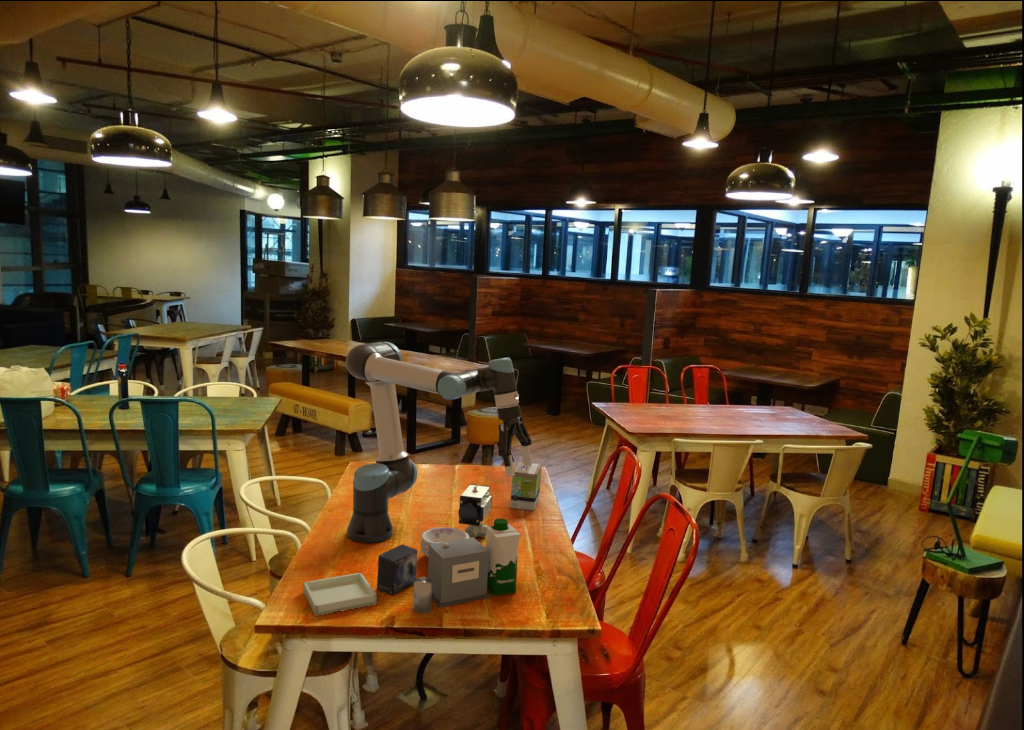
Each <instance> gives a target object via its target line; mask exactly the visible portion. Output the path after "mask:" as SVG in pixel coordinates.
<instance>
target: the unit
mask: <svg viewBox="0 0 1024 730" xmlns="http://www.w3.org/2000/svg"><path fill="white" fill-rule="evenodd" d="M488 557H489V550H487V549H486V547H485V546H484V545H483V544H482V543H481V542H479V540H477V539H476V538H474V537H473V538H467V539H461V540H455V541H448V542H442V543H436V544H429V558H428V557H427V559H428V565H427V577H428V578H431V579H432V580H433V585H432V601H433V602H434V603H435V604H436V606H437V607H438V608H439V609H441V608H446V607H447V608H448V607H452V606H457V605H462V604H464V603H465V604H466V603H471V602H475V601H479V600H484V599H489V598H490V594H489V593H488V591H487V590H488V588H487V577H488Z"/></svg>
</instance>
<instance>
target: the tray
mask: <svg viewBox="0 0 1024 730" xmlns="http://www.w3.org/2000/svg"><path fill="white" fill-rule="evenodd" d="M302 584H303V586H302V587H303V589H302V590H303V591H302V593H303V595H304V597H305V596H306V597H305V599H306V598H307V599H306V600H307V603H308V602H309V603H308V605H309V604H310V605H309V607H310V606H311V607H310V609H311V608H312V609H311V610H313V611H312V613H313V612H314V613H313V615H314V614H315V615H314V617H315V616H316V615H322V614H327V613H332V612H337V611H341V610H346V609H353V610H355V609H354V608H358V609H360V608H359V607H363V608H366V607H365V606H368V607H371V606H370V605H373V606H376V605H377V602H378V601H377V599H378V597H377V595H378V594H377V593H376V592H375V590H374V589H373V587H372V586H371V584H370V583H369V582H368V580H367V579H366V577H365V575H364V574H363V573H362V572H357V573H350V574H345V575H343V574H342V575H338V576H332V577H326V578H322V579H321V578H320V579H315V580H310V581H309V580H308V581H303V583H302ZM337 613H338V612H337ZM332 614H333V613H332ZM327 615H328V614H327ZM322 616H323V615H322Z"/></svg>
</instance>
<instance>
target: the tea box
mask: <svg viewBox="0 0 1024 730" xmlns="http://www.w3.org/2000/svg"><path fill="white" fill-rule="evenodd" d="M542 466H543V465H542V464H541V463H533V462H532V465H531V466H524V464H523V461H517V464H516V466H515V467H514V472H515V476H511V478H512V479H511V491H510V500H509V501H510V503H509V508H511V509H517V510H525V511H535V510H536V507H537V504H538V502H539V500H540V493H541V492H540V491H541V479H542Z"/></svg>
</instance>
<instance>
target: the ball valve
mask: <svg viewBox="0 0 1024 730" xmlns="http://www.w3.org/2000/svg"><path fill="white" fill-rule="evenodd" d="M492 508H493V494H491V486H490V485H482V484H474V483H473V484H472V483H470V484H469V485H468V486H467V487H466V489H465V490H464V491H463V492H462V493H461V495H459V508H458V511H457V513H458V524H462V525H467V526H466V528H465V529H464V531H465V532H466V533H468V535H469V537H470V538H473V537H474V538H475V539H476V538H483V537H484V538H487V528H486V527H489V526H488V524H484V523H483V522H484V520H485V518H486V517H487V515H488V514H489V513H490V512H491V510H492Z"/></svg>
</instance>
